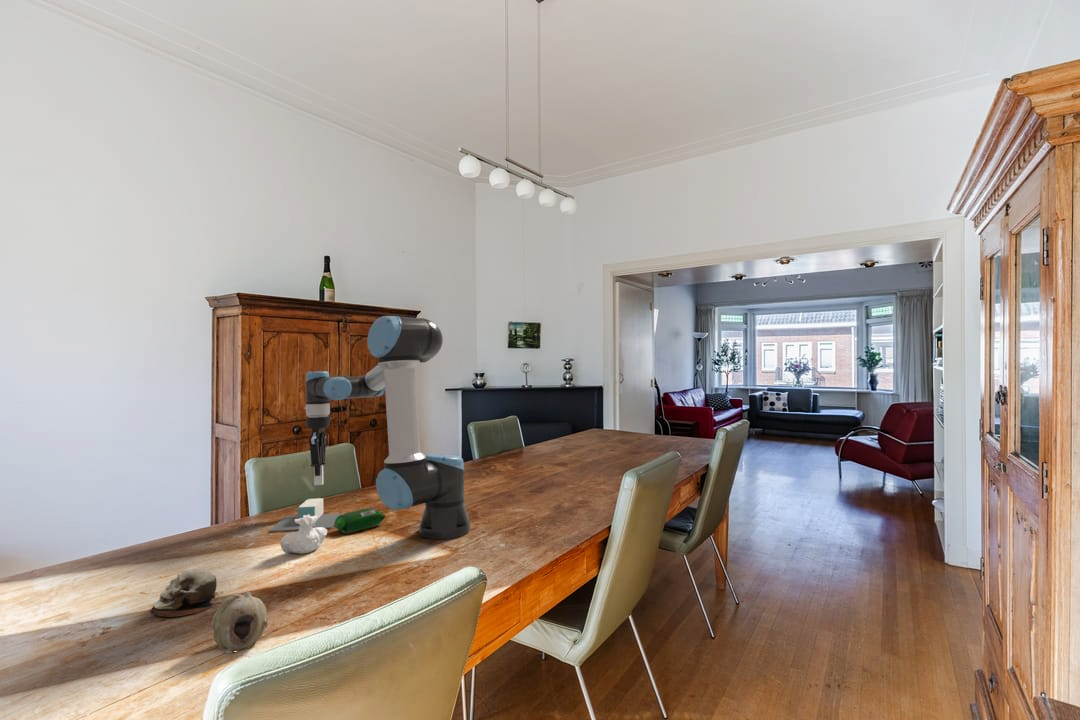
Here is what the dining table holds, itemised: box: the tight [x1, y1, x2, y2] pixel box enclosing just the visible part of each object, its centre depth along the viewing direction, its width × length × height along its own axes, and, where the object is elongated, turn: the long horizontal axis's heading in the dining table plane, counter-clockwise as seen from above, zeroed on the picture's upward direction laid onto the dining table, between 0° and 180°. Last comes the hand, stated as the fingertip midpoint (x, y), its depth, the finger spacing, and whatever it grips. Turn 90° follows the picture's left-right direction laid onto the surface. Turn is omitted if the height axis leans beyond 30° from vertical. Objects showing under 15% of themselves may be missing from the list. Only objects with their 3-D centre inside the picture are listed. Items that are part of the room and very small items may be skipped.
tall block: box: [297, 497, 324, 521], centre depth 161 cm, size 5×5×10 cm
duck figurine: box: [279, 514, 328, 555], centre depth 134 cm, size 12×8×11 cm
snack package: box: [333, 507, 386, 535], centre depth 153 cm, size 7×16×5 cm, turn 134°
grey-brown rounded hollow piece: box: [211, 591, 270, 654], centre depth 90 cm, size 9×8×9 cm
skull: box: [151, 565, 220, 618], centre depth 105 cm, size 12×10×10 cm
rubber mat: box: [268, 512, 344, 533], centre depth 158 cm, size 14×18×1 cm
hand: (318, 484), depth 169 cm, fingers closed
